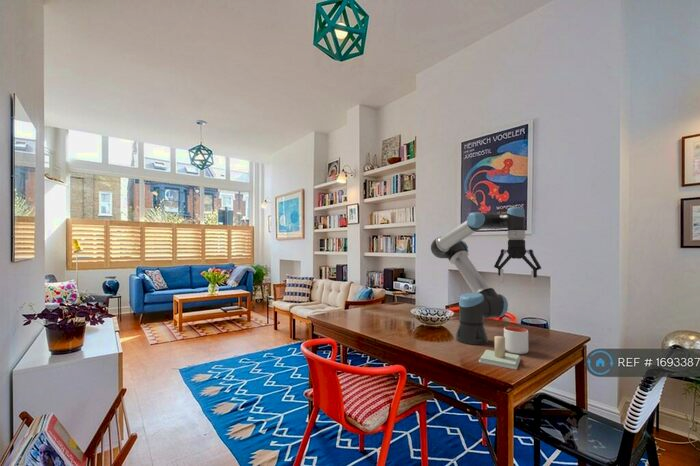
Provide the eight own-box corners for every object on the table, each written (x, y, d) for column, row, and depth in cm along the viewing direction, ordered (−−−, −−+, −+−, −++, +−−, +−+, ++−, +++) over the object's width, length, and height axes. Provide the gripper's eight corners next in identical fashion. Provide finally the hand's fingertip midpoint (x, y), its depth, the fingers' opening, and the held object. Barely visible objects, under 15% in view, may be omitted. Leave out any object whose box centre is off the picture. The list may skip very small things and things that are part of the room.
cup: (499, 348, 153) (499, 326, 154) (519, 347, 154) (519, 326, 154) (511, 355, 143) (511, 332, 144) (533, 354, 144) (533, 332, 145)
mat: (478, 362, 134) (478, 360, 134) (485, 353, 146) (485, 351, 146) (516, 369, 126) (516, 368, 126) (520, 359, 138) (520, 358, 138)
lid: (480, 360, 134) (480, 338, 134) (486, 352, 145) (486, 331, 145) (515, 367, 127) (515, 343, 127) (519, 358, 138) (518, 336, 138)
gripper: (487, 239, 162) (487, 282, 161) (544, 238, 147) (545, 286, 146) (491, 239, 168) (492, 281, 167) (547, 239, 152) (548, 284, 151)
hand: (517, 283), depth 156 cm, fingers open, 13 cm apart
